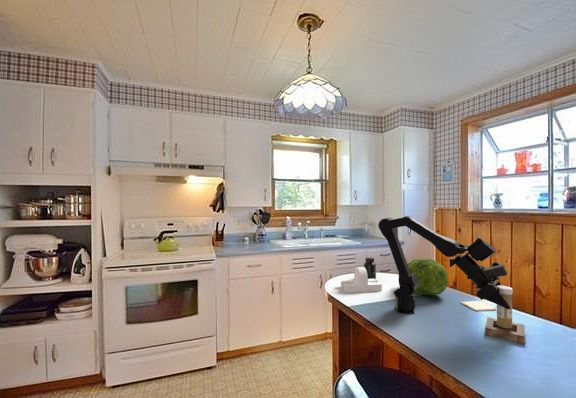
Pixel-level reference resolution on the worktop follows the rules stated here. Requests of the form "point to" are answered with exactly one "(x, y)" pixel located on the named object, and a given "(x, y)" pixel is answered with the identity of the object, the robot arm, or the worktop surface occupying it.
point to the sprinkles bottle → (502, 313)
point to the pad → (478, 306)
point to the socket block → (505, 331)
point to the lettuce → (429, 276)
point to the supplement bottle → (370, 268)
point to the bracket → (361, 282)
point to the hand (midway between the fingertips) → (509, 306)
